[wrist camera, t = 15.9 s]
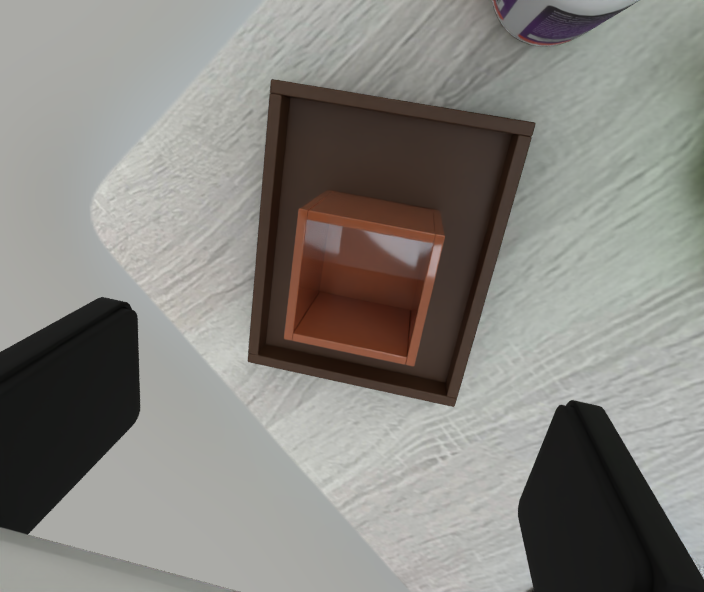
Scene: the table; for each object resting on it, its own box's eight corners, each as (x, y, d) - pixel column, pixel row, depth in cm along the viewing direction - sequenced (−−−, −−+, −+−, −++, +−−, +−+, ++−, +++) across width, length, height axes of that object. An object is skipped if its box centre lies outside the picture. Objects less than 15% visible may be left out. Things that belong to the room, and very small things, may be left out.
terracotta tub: (327, 189, 24) (298, 208, 18) (440, 210, 24) (445, 236, 18) (313, 294, 26) (283, 339, 21) (416, 314, 26) (414, 367, 20)
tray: (283, 82, 23) (270, 78, 21) (526, 123, 22) (536, 122, 20) (259, 346, 29) (247, 362, 27) (452, 387, 28) (454, 407, 26)
